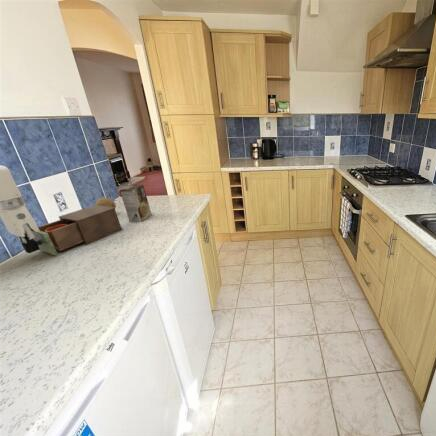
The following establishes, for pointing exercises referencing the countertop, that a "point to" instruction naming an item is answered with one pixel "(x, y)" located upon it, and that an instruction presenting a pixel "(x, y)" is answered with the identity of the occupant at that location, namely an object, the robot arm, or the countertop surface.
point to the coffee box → (135, 202)
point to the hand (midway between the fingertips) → (33, 251)
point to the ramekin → (51, 234)
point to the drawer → (58, 236)
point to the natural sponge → (106, 202)
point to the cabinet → (95, 222)
